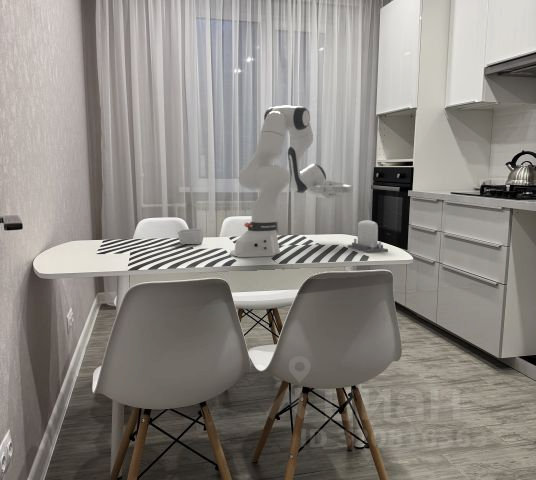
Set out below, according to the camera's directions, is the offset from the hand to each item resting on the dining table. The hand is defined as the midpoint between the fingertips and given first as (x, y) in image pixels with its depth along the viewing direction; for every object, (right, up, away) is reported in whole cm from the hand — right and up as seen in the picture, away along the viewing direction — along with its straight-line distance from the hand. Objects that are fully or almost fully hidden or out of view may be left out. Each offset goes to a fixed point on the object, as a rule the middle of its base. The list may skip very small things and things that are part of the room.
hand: (341, 189), depth 229 cm
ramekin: (-75, -27, +13) cm, 81 cm away
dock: (+11, -29, -10) cm, 32 cm away
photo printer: (+11, -28, -10) cm, 31 cm away
